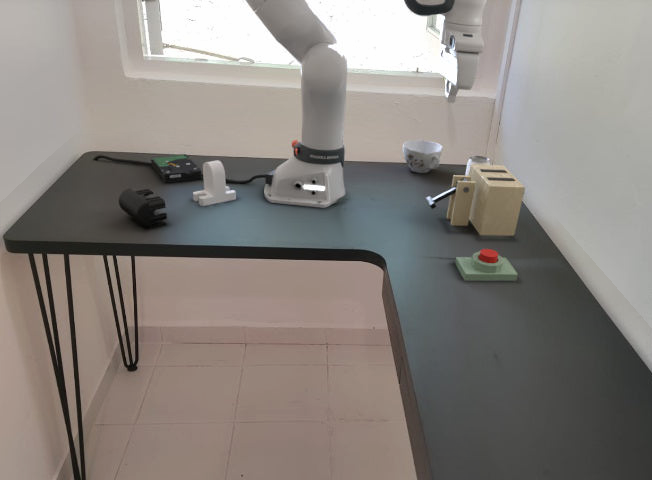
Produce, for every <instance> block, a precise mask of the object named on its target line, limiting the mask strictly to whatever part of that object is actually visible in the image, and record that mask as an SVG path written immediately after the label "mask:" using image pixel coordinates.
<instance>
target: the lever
mask: <svg viewBox="0 0 652 480" xmlns="http://www.w3.org/2000/svg"><path fill="white" fill-rule="evenodd" d="M460 181H468V180H467V179H466V178H464V179H462V180H460ZM456 185H457V182H456ZM456 188H457V186H456V187H454V188H452V189H451V188H450V189H449V190H446V191H444V192H442V193H440V194H438V195H437V196H435V197H432V196H431V195H429V196H426V197H425V199H426V201H427V203H428V205H429V206H430V208H431V210H433V209H435V208H437V206H436V203H438V202H440V201H442V200H445V199H446V198H448V197H450V195H452V194H454V193H456Z"/></svg>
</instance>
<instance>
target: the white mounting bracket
mask: <svg viewBox="0 0 652 480" xmlns="http://www.w3.org/2000/svg"><path fill="white" fill-rule="evenodd" d="M202 174H203V177H202V179H203V189H202V190H197V191H193V192H192V200H193V201H194V202H198V205H199V206H201V207H205V206H210V205H215V204H220V203H224V202H229V201H230V202H231V201H235V200H237V192H236V190H234V189H230V186H228V185H227V184H226V183H227V182H225V179H226V170H225V167H224V164H223V163H222V161H221V160H219V159H218V160H211V161H205V162H204V163H203V164H202Z"/></svg>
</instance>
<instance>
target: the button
mask: <svg viewBox="0 0 652 480" xmlns="http://www.w3.org/2000/svg"><path fill="white" fill-rule="evenodd" d="M498 255H499V253H498V252H497V251H496V250H495V249H492V248H491V249H490V248H482V249H481V250H480V255H479V260H481V261H483V262H486V263H496V262H497V258H498Z"/></svg>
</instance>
